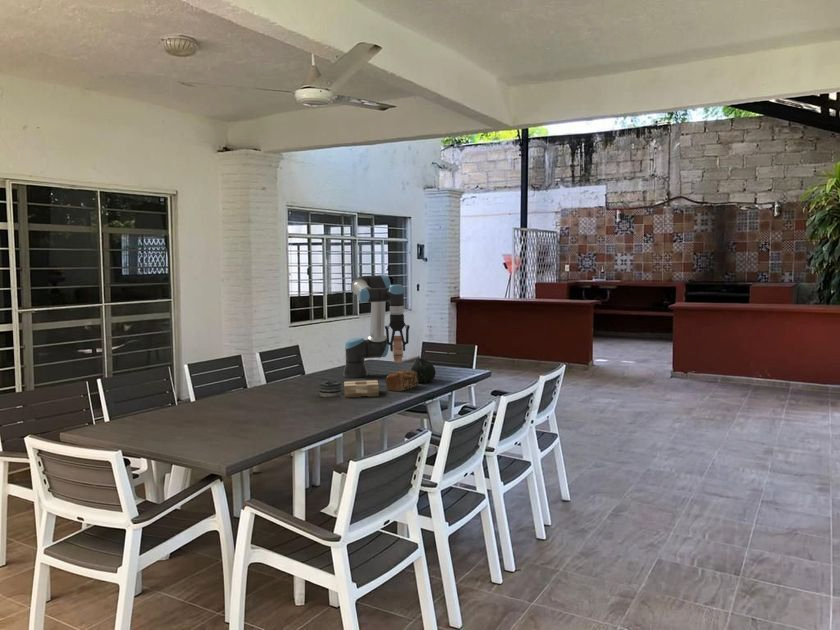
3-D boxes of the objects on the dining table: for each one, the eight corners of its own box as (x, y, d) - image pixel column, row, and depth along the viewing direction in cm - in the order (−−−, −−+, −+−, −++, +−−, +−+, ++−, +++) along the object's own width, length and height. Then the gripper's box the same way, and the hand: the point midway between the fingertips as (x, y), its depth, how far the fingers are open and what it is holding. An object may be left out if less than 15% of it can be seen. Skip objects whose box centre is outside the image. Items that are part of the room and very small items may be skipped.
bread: (401, 392, 358) (400, 374, 357) (385, 390, 363) (384, 372, 362) (419, 386, 373) (418, 368, 372) (403, 384, 379) (403, 367, 378)
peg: (393, 361, 353) (393, 335, 352) (401, 361, 354) (400, 335, 352) (394, 362, 349) (393, 336, 348) (402, 362, 349) (401, 336, 348)
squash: (439, 370, 392) (422, 351, 391) (440, 375, 377) (422, 356, 376) (422, 385, 393) (405, 367, 392) (422, 392, 379) (404, 373, 377)
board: (344, 392, 360) (344, 381, 360) (377, 390, 362) (377, 380, 362) (344, 397, 346) (344, 386, 346) (378, 395, 348) (378, 384, 348)
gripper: (381, 314, 344) (382, 358, 346) (413, 313, 346) (414, 357, 348) (380, 313, 351) (381, 356, 354) (412, 312, 353) (413, 355, 356)
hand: (397, 357), depth 351 cm, fingers closed on peg, 4 cm apart
